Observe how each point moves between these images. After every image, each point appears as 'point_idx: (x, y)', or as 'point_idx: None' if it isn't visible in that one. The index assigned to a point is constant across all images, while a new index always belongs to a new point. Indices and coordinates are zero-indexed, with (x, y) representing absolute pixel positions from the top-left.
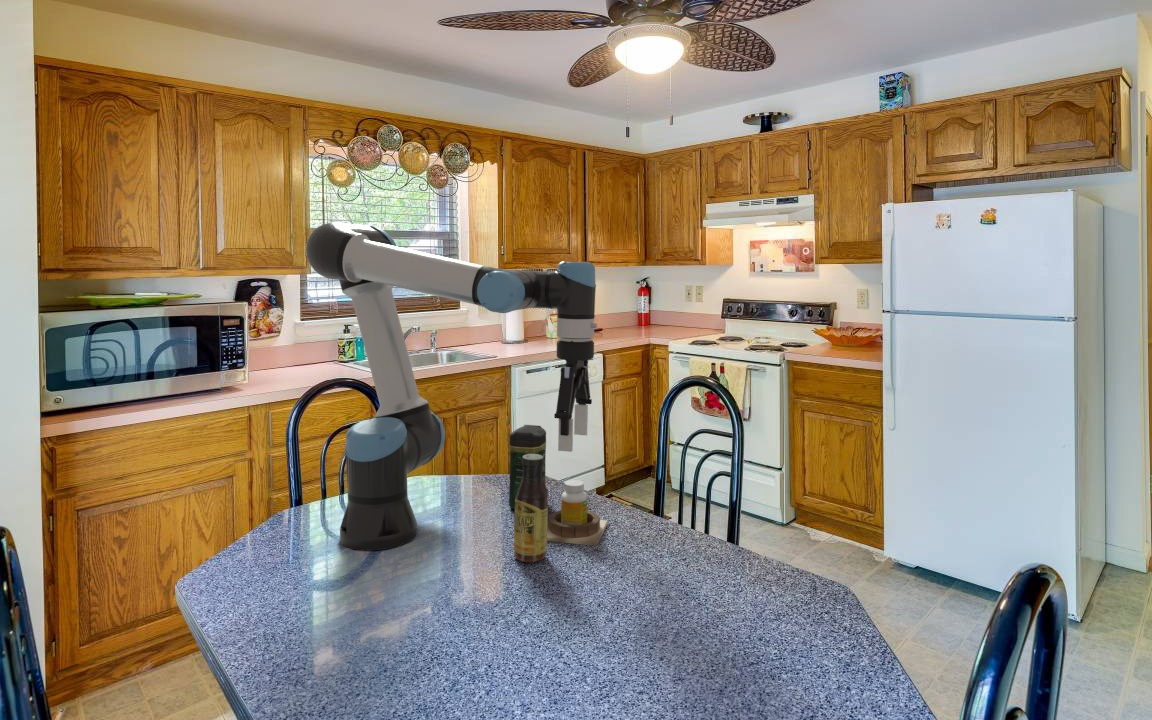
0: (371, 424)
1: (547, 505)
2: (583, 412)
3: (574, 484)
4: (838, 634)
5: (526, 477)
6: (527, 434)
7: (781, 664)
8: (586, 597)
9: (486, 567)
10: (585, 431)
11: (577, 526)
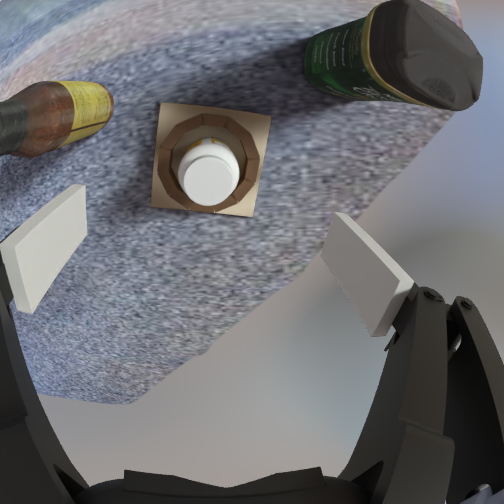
0: None
1: (50, 150)
2: (363, 298)
3: (195, 184)
4: (57, 385)
5: None
6: (399, 39)
7: None
8: (13, 214)
9: (56, 60)
10: (326, 260)
11: (163, 176)
